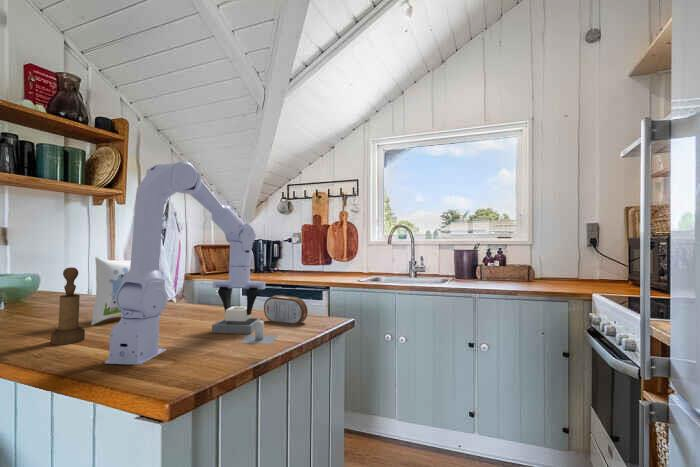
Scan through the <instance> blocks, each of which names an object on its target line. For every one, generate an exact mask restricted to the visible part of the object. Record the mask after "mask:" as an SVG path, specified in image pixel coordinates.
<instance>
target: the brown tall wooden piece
mask: <svg viewBox="0 0 700 467" xmlns="http://www.w3.org/2000/svg"><path fill="white" fill-rule="evenodd" d="M62 272H63V273H62V276H63V277H64V279H65V280H66V284H65V285H64V286H63V287H64V292H65V294H64V295H63V294H62V295H60V296H59V308H58V310H59V311H58V326H57V327H58V328H57V329H54V330H53V331H52V332H51V333H50V344H51V345H57V346H58V345H60V346H61V345H63V346H64V345H68V344H69V345H70V344H71V345H72V344H76V343H79V342H82V341H84V340H85V336H86V334H85V333H86V332H85V329H84V328H82V327H81V326H79V317H80V297H81V295H80V294H74V293H75V292H76V288H77V286H76V285H75V280H76V279H77V278H78V276H79V270H78V268H76V267H66V268H65V269H63V271H62Z"/></svg>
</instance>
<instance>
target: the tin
mask: <svg viewBox="0 0 700 467" xmlns="http://www.w3.org/2000/svg"><path fill="white" fill-rule="evenodd" d="M263 304H264V305H263V312H264V316H265V318H267V320H268V321H270V322H272V323H290V324H295V325H296V324H297V325H298V324H302V323H304V322H305V321H306V319H307V318H308V312H309V311H308V310H309V309H308V306H307V304H306V303H305V301H304V300H303V299H301V297H297V296H290V295H289V296H288V295H280V294H275V295H272V296H271V297H270V296H269V297H268V298H267V299H266V300H265V302H264V303H263Z"/></svg>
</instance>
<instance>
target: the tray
mask: <svg viewBox="0 0 700 467" xmlns="http://www.w3.org/2000/svg"><path fill="white" fill-rule="evenodd" d="M259 320H262V321H263V319H262V317H251V318H249V319H248V320H246V321H225V317H224V318H222V319H220V320H219V321H216V322H215V323H213V324H212V325H211V333H215V334H217V333H218V334H247V335H252V334H253V333H254V332H255V329H256V321H259Z"/></svg>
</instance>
